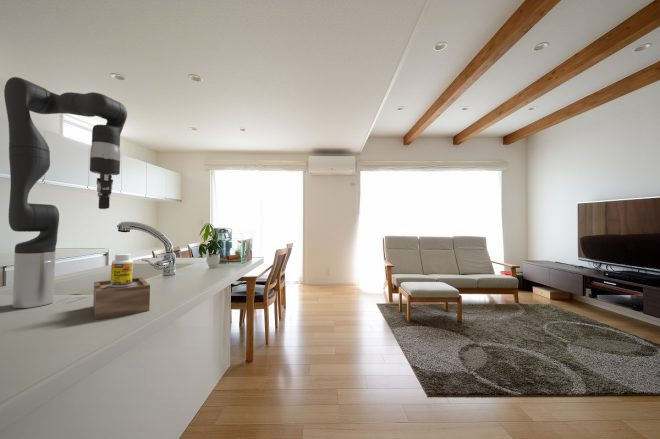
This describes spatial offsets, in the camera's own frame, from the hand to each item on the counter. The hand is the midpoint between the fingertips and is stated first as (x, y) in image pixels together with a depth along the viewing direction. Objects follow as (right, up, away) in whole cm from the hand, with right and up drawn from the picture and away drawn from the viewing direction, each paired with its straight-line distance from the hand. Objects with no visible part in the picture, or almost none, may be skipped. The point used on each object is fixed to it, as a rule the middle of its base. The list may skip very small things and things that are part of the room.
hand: (103, 208), depth 88 cm
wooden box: (+6, -32, 0) cm, 33 cm away
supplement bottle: (+6, -25, 0) cm, 26 cm away
